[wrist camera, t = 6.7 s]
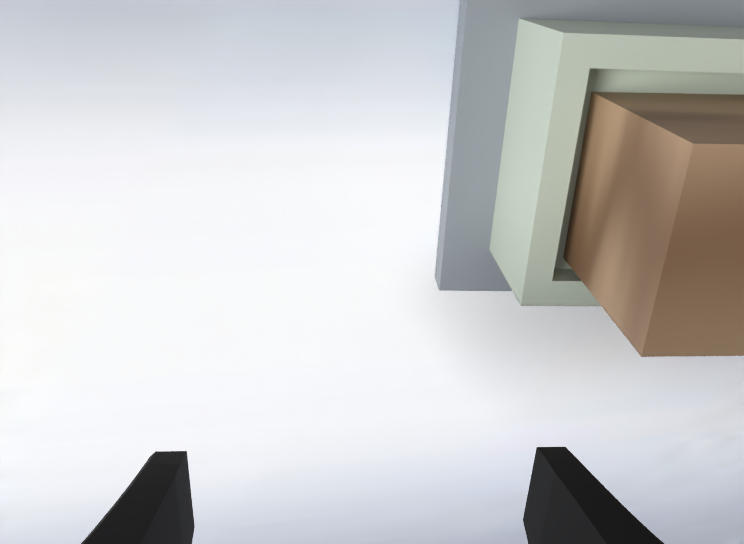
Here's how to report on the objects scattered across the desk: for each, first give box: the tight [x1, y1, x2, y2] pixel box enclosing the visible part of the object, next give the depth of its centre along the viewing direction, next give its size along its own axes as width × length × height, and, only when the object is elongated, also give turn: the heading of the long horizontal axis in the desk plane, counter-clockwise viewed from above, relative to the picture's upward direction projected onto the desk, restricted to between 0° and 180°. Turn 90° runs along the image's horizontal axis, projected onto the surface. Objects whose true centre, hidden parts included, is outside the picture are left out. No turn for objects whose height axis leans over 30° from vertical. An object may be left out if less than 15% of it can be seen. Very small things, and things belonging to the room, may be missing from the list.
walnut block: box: [563, 92, 744, 357], centre depth 15 cm, size 4×4×5 cm
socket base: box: [435, 0, 744, 306], centre depth 19 cm, size 10×10×5 cm
